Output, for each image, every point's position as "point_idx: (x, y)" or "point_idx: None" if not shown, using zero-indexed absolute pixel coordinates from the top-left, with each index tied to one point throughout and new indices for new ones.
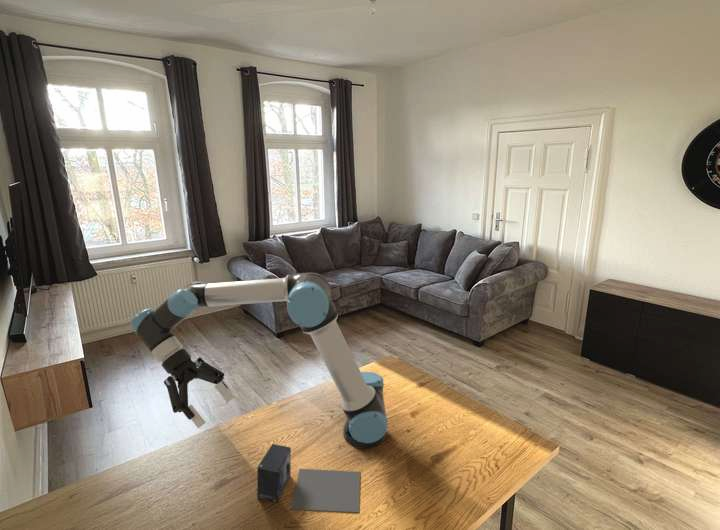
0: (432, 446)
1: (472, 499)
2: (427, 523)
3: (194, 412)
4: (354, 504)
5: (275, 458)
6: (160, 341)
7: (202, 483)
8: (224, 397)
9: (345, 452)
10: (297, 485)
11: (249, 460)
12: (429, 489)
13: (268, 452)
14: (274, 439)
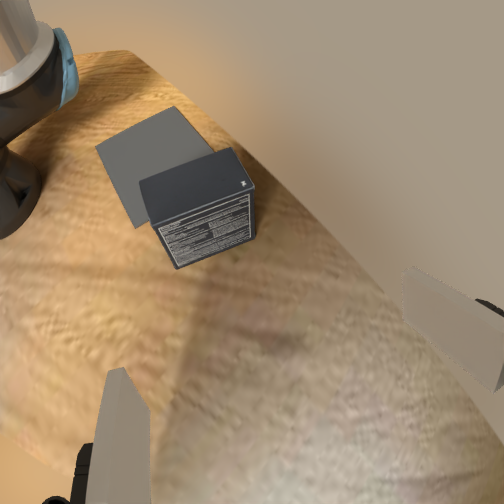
0: None
1: (96, 61)
2: (148, 65)
3: (476, 305)
4: (163, 115)
5: (197, 175)
6: None
7: (313, 382)
8: (145, 435)
9: (57, 194)
10: None
11: (177, 352)
12: (95, 84)
13: (189, 205)
14: (82, 355)
